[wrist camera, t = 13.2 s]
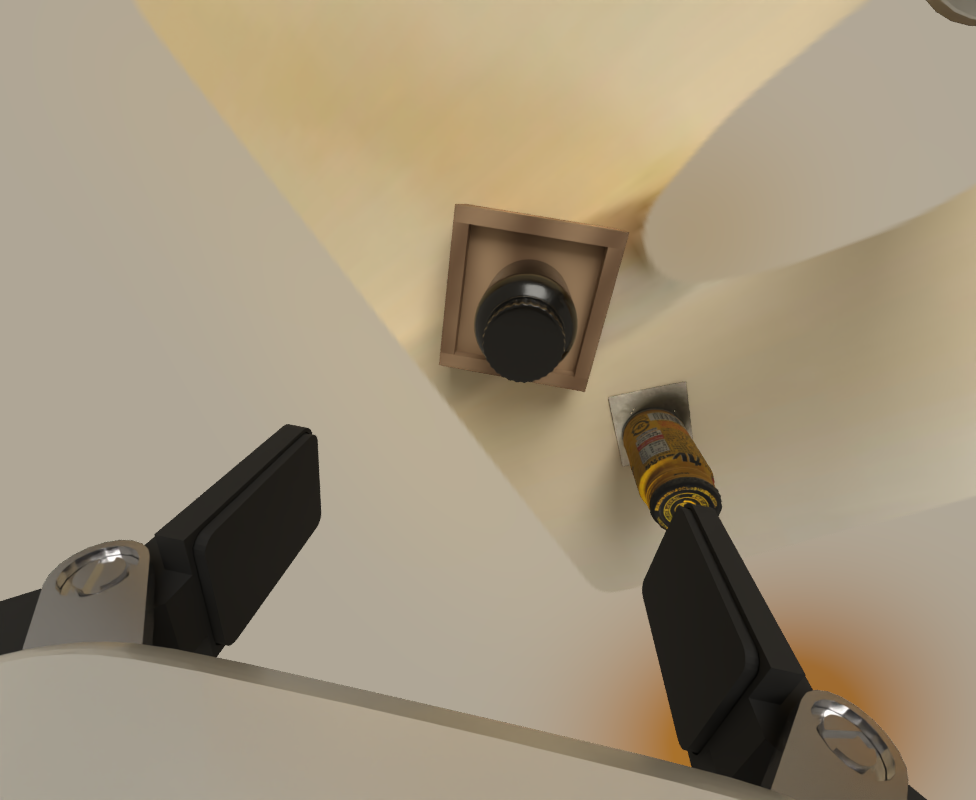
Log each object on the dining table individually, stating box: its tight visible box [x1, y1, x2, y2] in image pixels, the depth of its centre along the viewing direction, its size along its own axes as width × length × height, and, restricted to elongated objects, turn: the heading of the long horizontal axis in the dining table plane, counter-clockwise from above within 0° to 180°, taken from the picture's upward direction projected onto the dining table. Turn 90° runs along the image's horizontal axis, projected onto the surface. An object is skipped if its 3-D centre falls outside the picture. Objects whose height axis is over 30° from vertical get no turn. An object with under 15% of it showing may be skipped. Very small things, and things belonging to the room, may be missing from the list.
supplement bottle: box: [474, 259, 578, 383], centre depth 29 cm, size 7×7×12 cm
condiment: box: [608, 382, 722, 530], centre depth 36 cm, size 7×8×12 cm
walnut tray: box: [439, 204, 629, 392], centre depth 35 cm, size 13×13×5 cm
